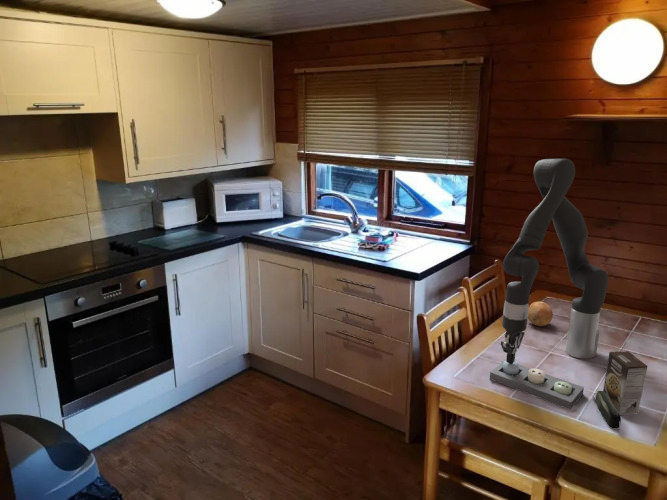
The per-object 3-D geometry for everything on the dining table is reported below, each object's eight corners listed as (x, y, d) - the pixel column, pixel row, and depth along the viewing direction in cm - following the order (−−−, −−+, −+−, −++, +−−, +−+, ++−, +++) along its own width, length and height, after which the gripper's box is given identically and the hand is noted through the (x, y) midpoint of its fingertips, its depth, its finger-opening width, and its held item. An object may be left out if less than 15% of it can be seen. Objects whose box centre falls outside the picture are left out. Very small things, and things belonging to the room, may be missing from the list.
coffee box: (600, 398, 162) (608, 351, 157) (620, 396, 162) (628, 350, 157) (618, 415, 153) (627, 366, 148) (639, 414, 154) (648, 365, 149)
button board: (489, 378, 173) (490, 372, 172) (504, 366, 181) (505, 359, 180) (570, 409, 156) (571, 402, 155) (582, 394, 164) (583, 387, 163)
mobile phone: (623, 415, 145) (602, 385, 159) (612, 415, 146) (592, 385, 160) (620, 430, 147) (600, 399, 161) (609, 430, 147) (589, 399, 161)
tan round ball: (553, 323, 214) (556, 300, 211) (548, 332, 206) (551, 308, 203) (529, 317, 219) (531, 295, 216) (523, 326, 211) (525, 303, 208)
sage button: (550, 394, 163) (551, 385, 162) (556, 387, 166) (558, 379, 165) (567, 400, 159) (568, 391, 158) (573, 393, 163) (574, 384, 162)
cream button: (524, 381, 168) (525, 372, 167) (531, 375, 171) (532, 366, 170) (540, 386, 164) (541, 377, 163) (546, 380, 168) (547, 371, 167)
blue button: (499, 372, 173) (500, 363, 172) (506, 366, 177) (507, 357, 176) (514, 377, 170) (515, 368, 169) (520, 371, 173) (521, 362, 173)
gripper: (513, 305, 174) (508, 351, 180) (494, 317, 165) (490, 365, 170) (535, 311, 170) (529, 359, 175) (517, 323, 160) (512, 373, 165)
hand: (510, 362), depth 172 cm, fingers closed
